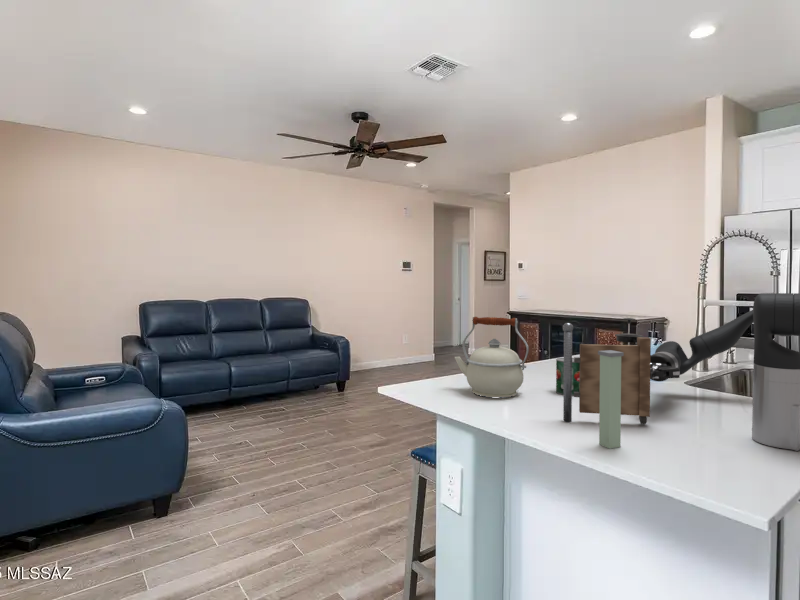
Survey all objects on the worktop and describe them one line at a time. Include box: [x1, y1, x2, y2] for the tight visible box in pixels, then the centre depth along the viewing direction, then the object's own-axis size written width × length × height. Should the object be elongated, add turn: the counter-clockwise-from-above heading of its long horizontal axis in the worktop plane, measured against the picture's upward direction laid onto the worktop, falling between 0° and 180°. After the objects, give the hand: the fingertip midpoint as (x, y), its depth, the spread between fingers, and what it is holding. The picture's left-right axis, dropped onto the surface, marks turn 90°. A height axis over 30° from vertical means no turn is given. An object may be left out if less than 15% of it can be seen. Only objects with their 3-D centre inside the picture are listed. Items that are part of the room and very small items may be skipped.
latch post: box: [598, 350, 624, 450], centre depth 99 cm, size 4×4×21 cm
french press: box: [614, 317, 644, 345], centre depth 163 cm, size 12×9×23 cm
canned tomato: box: [555, 357, 580, 397], centre depth 147 cm, size 8×8×11 cm
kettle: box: [454, 316, 530, 398], centre depth 148 cm, size 25×18×25 cm
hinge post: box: [562, 322, 574, 423], centre depth 117 cm, size 3×3×26 cm
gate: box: [573, 336, 652, 425], centre depth 115 cm, size 18×3×22 cm, turn 78°
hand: (644, 375), depth 117 cm, fingers closed
